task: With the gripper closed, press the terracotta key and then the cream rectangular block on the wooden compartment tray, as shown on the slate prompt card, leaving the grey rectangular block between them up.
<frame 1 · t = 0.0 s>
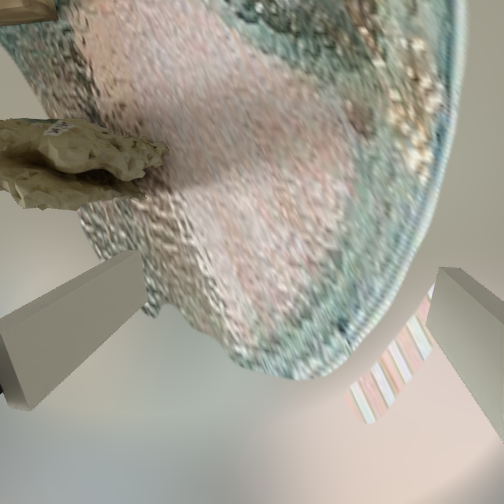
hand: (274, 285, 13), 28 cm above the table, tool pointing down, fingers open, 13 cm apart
coral: (101, 156, 42), on the table
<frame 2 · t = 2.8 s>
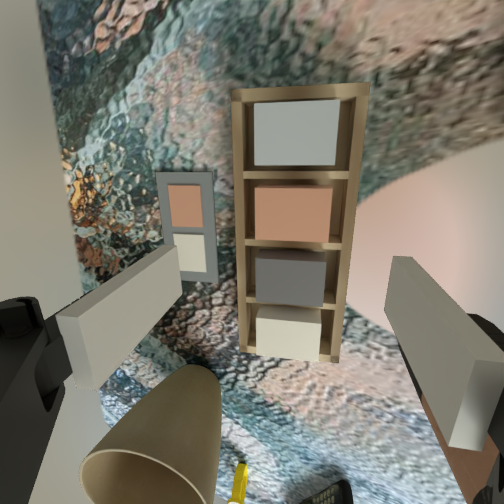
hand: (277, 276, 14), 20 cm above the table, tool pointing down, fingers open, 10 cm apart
grey rectangular block: (290, 276, 30), point 4 cm above the table, slide at 0.0 cm
key terracotta: (292, 212, 28), point 4 cm above the table, slide at 0.0 cm
cream rectangular block: (288, 332, 32), point 4 cm above the table, slide at 0.0 cm
travel mug: (428, 340, 35), on the table
prompt card: (189, 229, 35), on the table
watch: (243, 467, 49), on the table
plant pot: (198, 382, 44), on the table
key bluegrey: (295, 135, 25), point 4 cm above the table, slide at 0.0 cm
wooden compartment tray: (293, 233, 33), on the table
mobile phone: (317, 497, 48), on the table
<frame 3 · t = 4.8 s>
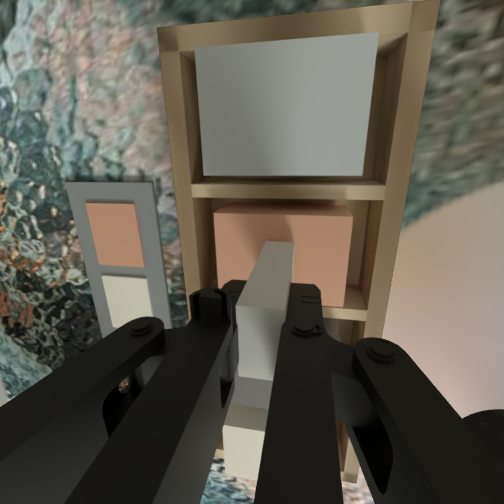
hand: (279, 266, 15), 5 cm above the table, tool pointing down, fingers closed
grey rectangular block: (278, 360, 18), point 4 cm above the table, slide at 0.0 cm
key terracotta: (281, 251, 16), point 3 cm above the table, slide at 1.1 cm, touching gripper
cream rectangular block: (276, 438, 20), point 4 cm above the table, slide at 0.0 cm
travel mug: (494, 440, 22), on the table
prompt card: (126, 269, 23), on the table
key bluegrey: (283, 116, 13), point 4 cm above the table, slide at 0.0 cm
wooden compartment tray: (284, 279, 21), on the table
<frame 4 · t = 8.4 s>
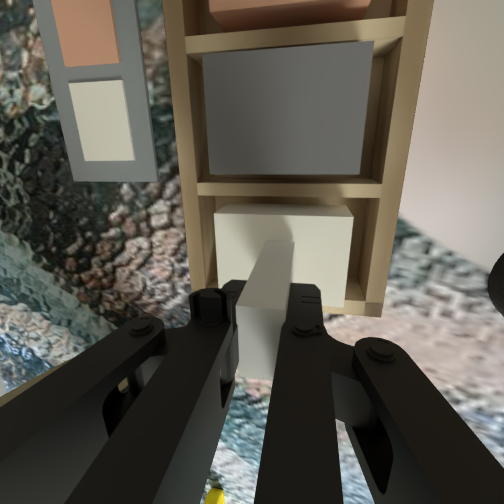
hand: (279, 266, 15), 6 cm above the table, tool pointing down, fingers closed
grey rectangular block: (284, 118, 14), point 4 cm above the table, slide at 0.0 cm
cream rectangular block: (282, 251, 16), point 4 cm above the table, slide at 0.3 cm, touching gripper
prompt card: (98, 74, 19), on the table
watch: (219, 494, 33), on the table
plant pot: (142, 365, 28), on the table
wooden compartment tray: (292, 60, 17), on the table
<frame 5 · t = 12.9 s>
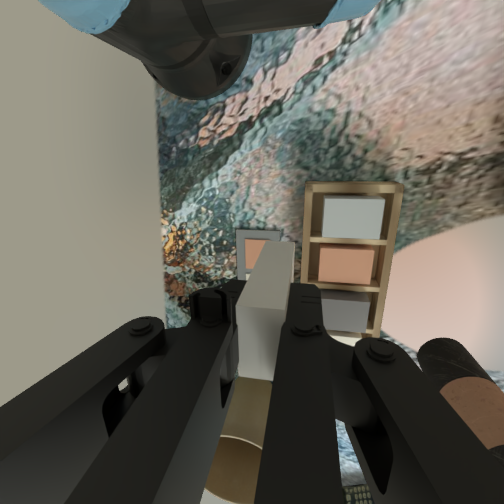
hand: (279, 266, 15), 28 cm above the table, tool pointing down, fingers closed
grey rectangular block: (340, 310, 41), point 4 cm above the table, slide at 0.0 cm
key terracotta: (344, 262, 40), point 3 cm above the table, slide at 1.5 cm
cream rectangular block: (335, 343, 45), point 3 cm above the table, slide at 1.4 cm
travel mug: (440, 354, 46), on the table
prompt card: (258, 270, 46), on the table
plant pot: (254, 386, 55), on the table
key bluegrey: (350, 216, 36), point 4 cm above the table, slide at 0.0 cm
wooden compartment tray: (339, 275, 44), on the table
mobile phone: (345, 487, 61), on the table
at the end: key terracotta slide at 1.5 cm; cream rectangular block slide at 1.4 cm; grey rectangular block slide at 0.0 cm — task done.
